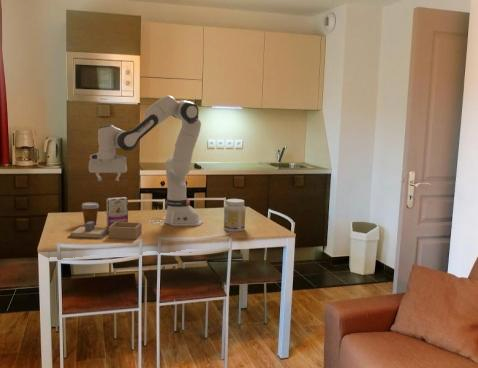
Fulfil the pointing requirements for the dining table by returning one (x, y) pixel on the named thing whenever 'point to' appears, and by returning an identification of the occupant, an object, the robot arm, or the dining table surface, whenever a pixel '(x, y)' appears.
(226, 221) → the supplement tub
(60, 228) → the dining table surface
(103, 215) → the dining table surface
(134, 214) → the dining table surface
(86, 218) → the disposable coffee cup
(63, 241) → the dining table surface
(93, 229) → the lid
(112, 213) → the candy bar box
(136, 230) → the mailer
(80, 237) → the mat
